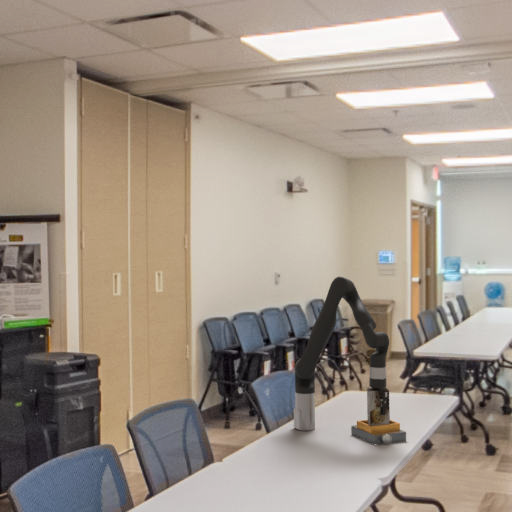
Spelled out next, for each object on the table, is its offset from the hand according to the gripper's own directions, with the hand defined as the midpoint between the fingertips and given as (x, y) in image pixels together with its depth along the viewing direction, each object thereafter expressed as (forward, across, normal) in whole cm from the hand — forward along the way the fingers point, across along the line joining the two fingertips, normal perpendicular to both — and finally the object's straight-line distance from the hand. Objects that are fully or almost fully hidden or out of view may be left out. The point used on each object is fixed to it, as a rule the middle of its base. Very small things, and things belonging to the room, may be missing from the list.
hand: (378, 413), depth 332 cm
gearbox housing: (+11, +1, 0) cm, 11 cm away
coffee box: (+5, 0, 0) cm, 6 cm away
